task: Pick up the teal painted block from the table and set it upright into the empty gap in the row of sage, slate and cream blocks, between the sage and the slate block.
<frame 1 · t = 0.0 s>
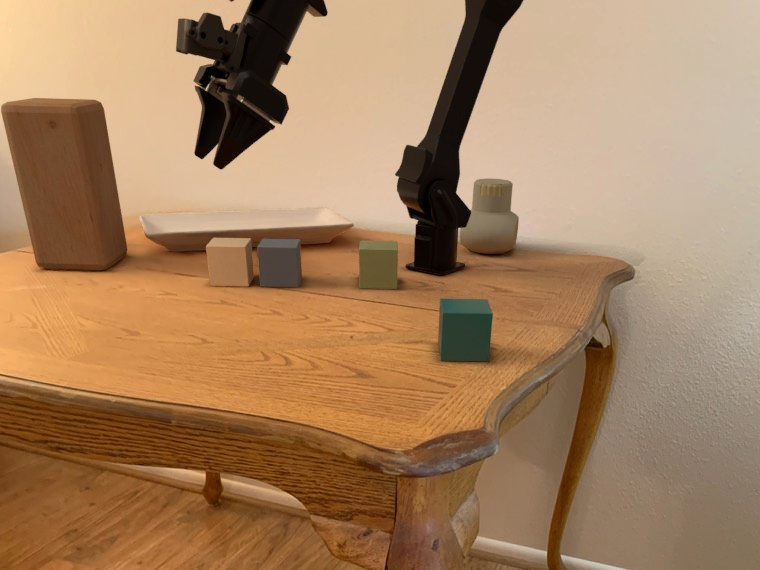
hand: (207, 162, 90), 15 cm above the table, tool tilted 35°, fingers open, 9 cm apart
sage block: (378, 283, 103), on the table
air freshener: (487, 251, 121), on the table
tray: (246, 242, 123), on the table
teal block: (462, 353, 81), on the table
cream block: (232, 281, 102), on the table
wooden block: (84, 264, 109), on the table
slate block: (281, 282, 102), on the table
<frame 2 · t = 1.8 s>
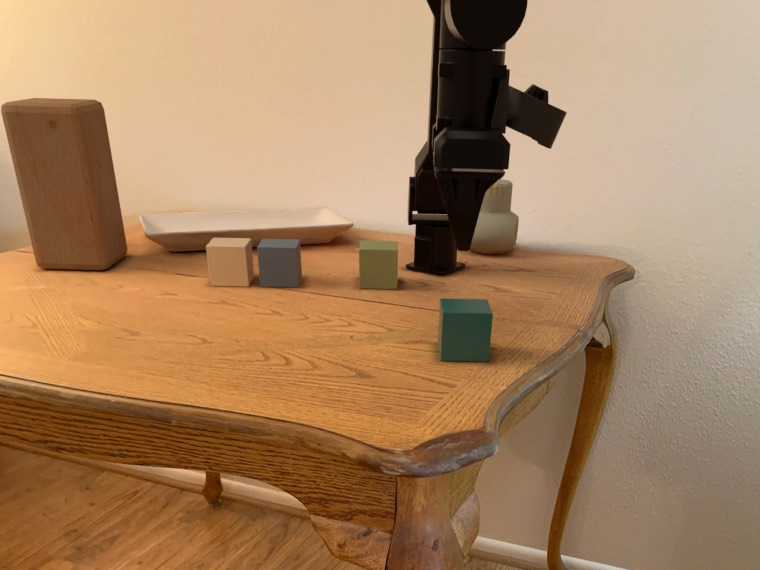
hand: (461, 240, 74), 11 cm above the table, tool pointing down, fingers open, 9 cm apart
nothing on the table moved.
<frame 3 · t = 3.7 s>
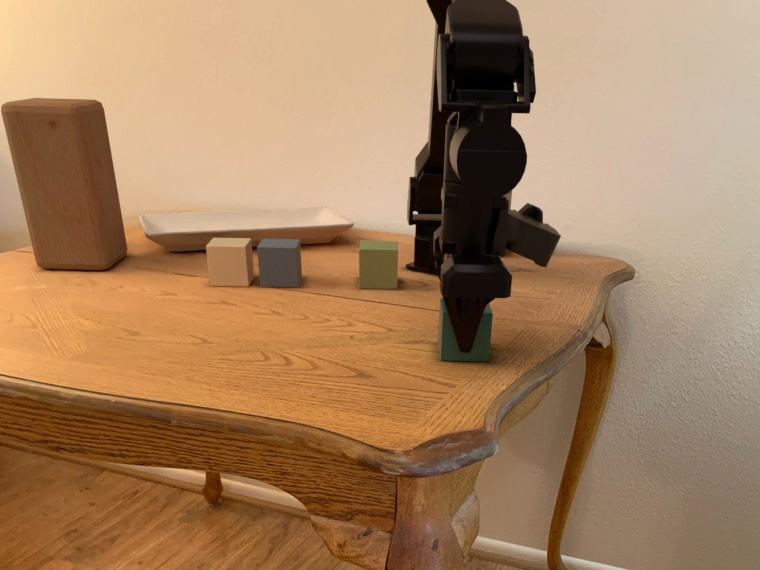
hand: (463, 343, 80), 1 cm above the table, tool pointing down, fingers closed on teal block, 5 cm apart
teal block: (462, 353, 81), on the table, touching gripper
everything else where it was.
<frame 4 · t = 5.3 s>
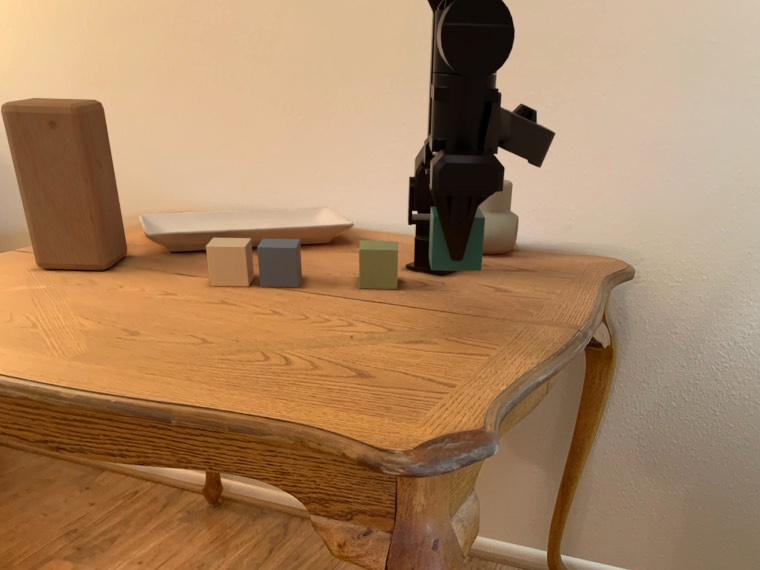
hand: (454, 254, 77), 9 cm above the table, tool pointing down, fingers closed on teal block, 5 cm apart
teal block: (454, 264, 78), point 8 cm above the table, touching gripper
everything else where it was.
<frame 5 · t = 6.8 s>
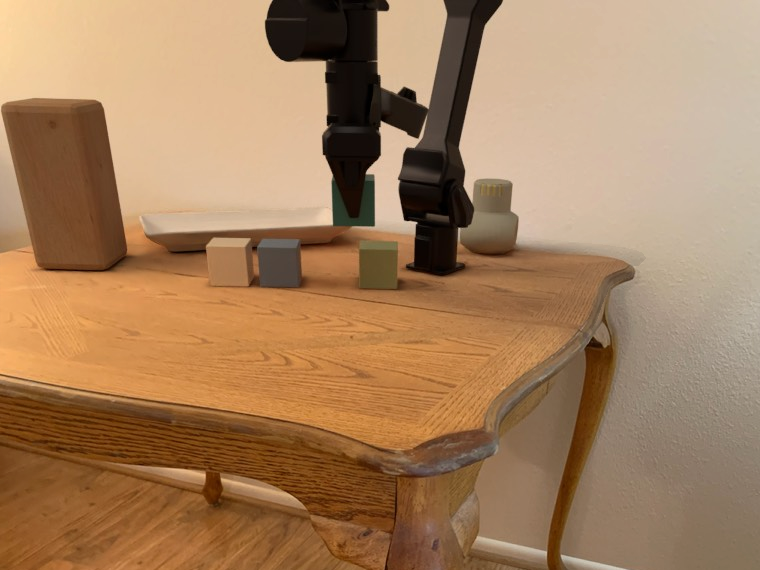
hand: (354, 213, 92), 10 cm above the table, tool pointing down, fingers closed on teal block, 5 cm apart
teal block: (354, 222, 93), point 9 cm above the table, touching gripper
everything else where it was.
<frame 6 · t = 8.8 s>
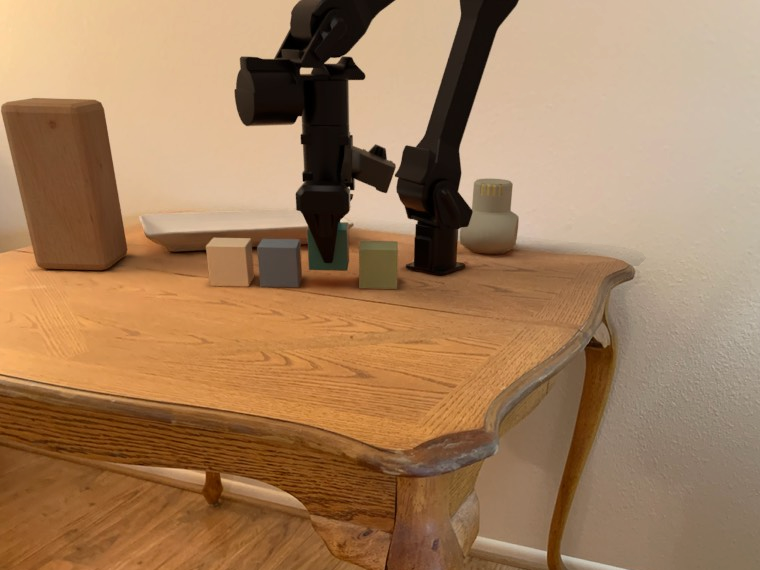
hand: (329, 258, 101), 3 cm above the table, tool pointing down, fingers closed on teal block, 5 cm apart
teal block: (329, 265, 101), point 2 cm above the table, touching gripper
everything else where it was.
when the fingers open (1 cm above the table, at t = 9.9 s): teal block stays where it is, on the table.
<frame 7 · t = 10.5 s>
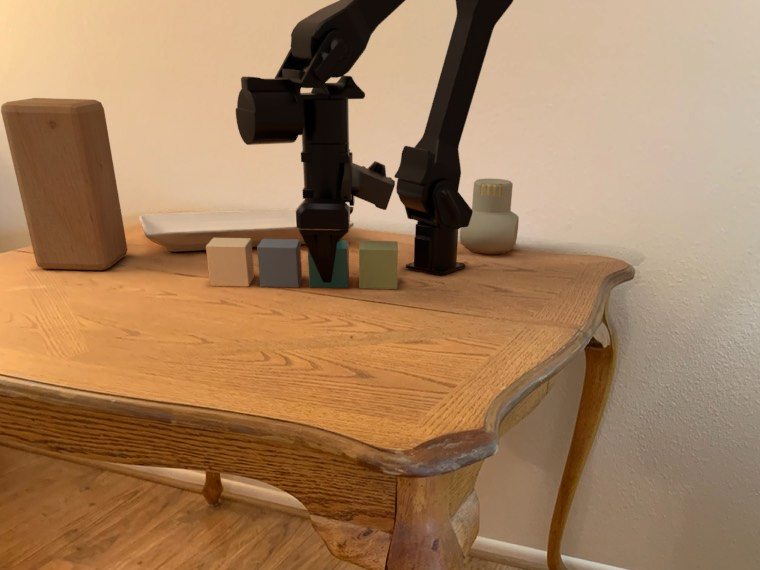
hand: (329, 273, 102), 1 cm above the table, tool pointing down, fingers open, 9 cm apart
teal block: (329, 282, 103), on the table
everything else where it was.
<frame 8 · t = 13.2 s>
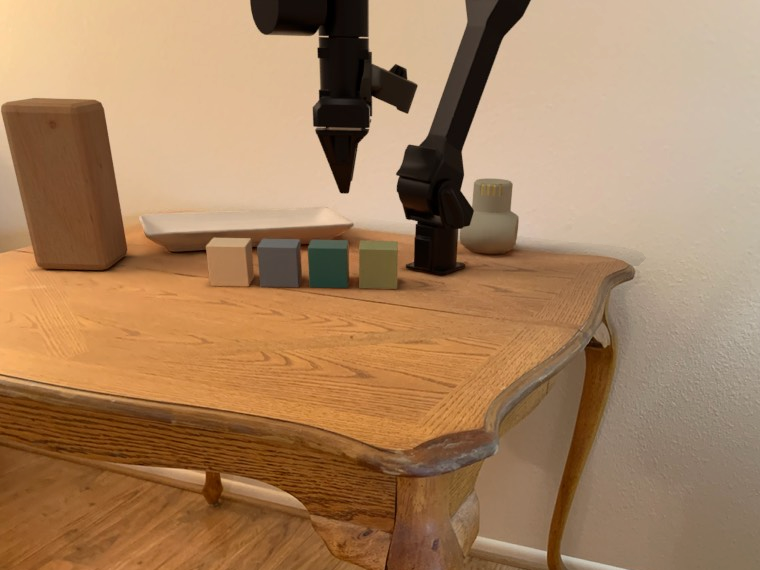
hand: (346, 187, 95), 12 cm above the table, tool pointing down, fingers open, 9 cm apart
nothing on the table moved.
at the end: teal block 0.1 cm from the target spot on the table beside the sage block, on the table; teal block 0.1 cm from the target spot on the table beside the slate block, on the table; teal block tilted 0° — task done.
